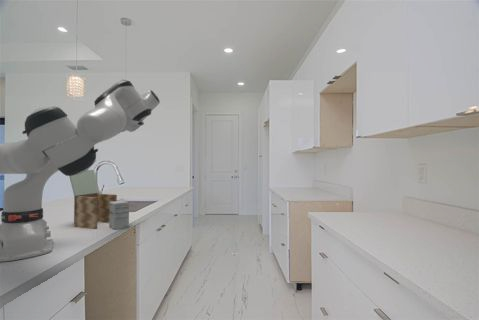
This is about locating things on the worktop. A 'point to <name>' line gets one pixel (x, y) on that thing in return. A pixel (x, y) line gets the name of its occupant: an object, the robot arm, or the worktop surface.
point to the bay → (92, 209)
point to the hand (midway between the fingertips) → (109, 130)
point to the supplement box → (119, 214)
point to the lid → (84, 183)
